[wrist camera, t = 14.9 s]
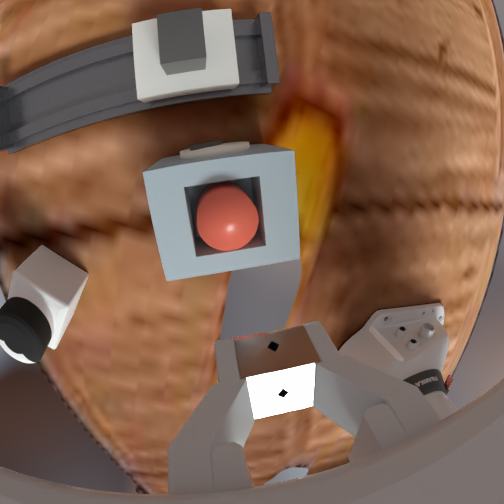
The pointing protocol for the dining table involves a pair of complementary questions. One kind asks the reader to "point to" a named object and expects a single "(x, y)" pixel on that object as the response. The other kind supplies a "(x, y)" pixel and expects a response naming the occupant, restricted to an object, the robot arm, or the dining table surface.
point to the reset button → (226, 216)
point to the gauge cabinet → (215, 170)
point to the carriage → (184, 54)
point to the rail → (116, 86)
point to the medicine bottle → (39, 304)
